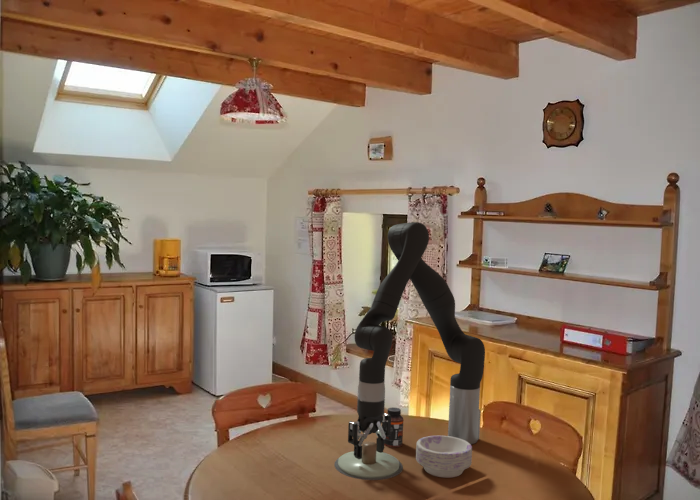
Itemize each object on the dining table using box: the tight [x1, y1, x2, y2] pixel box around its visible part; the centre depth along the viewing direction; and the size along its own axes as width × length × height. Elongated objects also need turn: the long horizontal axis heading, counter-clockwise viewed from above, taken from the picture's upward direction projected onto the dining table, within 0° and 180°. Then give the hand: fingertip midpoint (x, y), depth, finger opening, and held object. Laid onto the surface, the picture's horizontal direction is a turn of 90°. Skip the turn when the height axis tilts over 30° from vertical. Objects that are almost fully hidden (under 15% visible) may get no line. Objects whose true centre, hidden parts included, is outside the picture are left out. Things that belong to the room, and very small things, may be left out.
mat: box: [334, 457, 404, 481], centre depth 172 cm, size 19×19×1 cm
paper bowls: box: [415, 435, 473, 478], centre depth 171 cm, size 15×15×8 cm
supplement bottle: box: [384, 407, 404, 448], centre depth 189 cm, size 6×6×11 cm
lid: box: [337, 440, 400, 478], centre depth 172 cm, size 17×17×6 cm
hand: (369, 454), depth 172 cm, fingers open, 7 cm apart
